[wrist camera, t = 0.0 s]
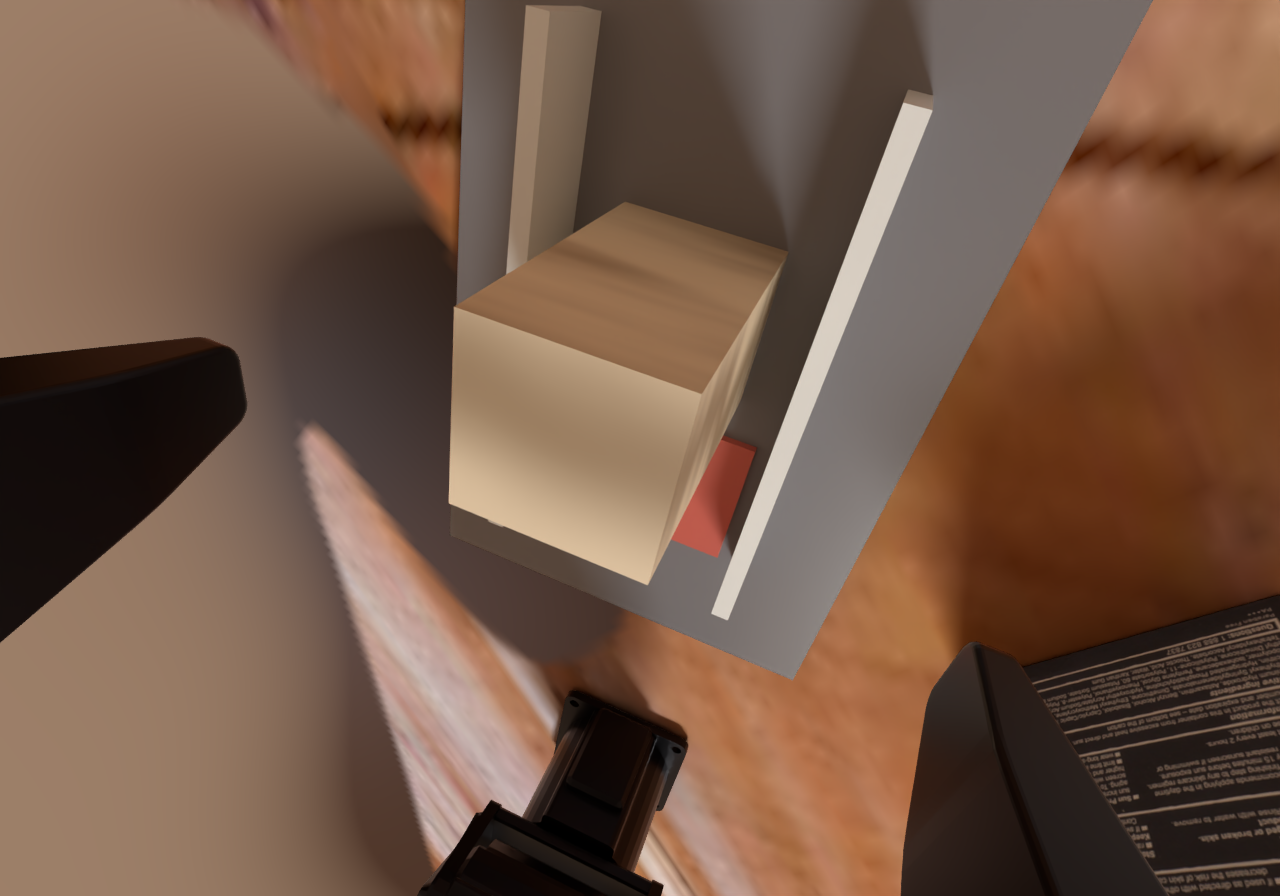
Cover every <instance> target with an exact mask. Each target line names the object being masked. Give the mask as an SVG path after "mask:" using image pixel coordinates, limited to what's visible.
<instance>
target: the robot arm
mask: <svg viewBox="0 0 1280 896" xmlns="http://www.w3.org/2000/svg"><path fill="white" fill-rule="evenodd" d="M246 410H247V398H246V393H245V387H244V382H243V376H242V371H241V365H240V360H239V357H238V355H237V354H236V352H235V351H234V350H233V349H232V348H230V347H228V346H226V345H223V344H221V343H218V342H215V341H213V340H211V339H207V338H203V337H194V338H184V339H174V340H165V341H156V342H147V343H137V344H127V345H118V346H110V347H109V346H108V347H99V348H90V349H80V350H71V351H61V352H52V353H42V354H33V355H23V356H14V357H4V358H0V642H1V641H3V640H4V639H5V638H6V637H7V636H9V635H10V634H11V633H12V632H13V631H15V630H16V629H17V628H18V627H19V626H20V625H22V624H23V623H24V622H25V621H26V620H27V619H29V618H30V617H31V616H32V615H33V614H34V613H36V612H37V611H38V610H39V609H40V608H41V607H43V606H44V605H45V604H46V603H47V602H48V601H50V600H51V599H52V598H53V597H54V596H55V595H57V594H58V593H59V592H60V591H61V590H62V589H63V588H65V587H66V586H67V585H68V584H69V583H71V582H72V581H73V580H74V579H75V578H76V577H78V576H79V575H80V574H81V573H82V572H83V571H85V570H86V569H87V568H88V567H89V566H90V565H92V564H93V563H94V562H95V561H96V560H97V559H98V558H100V557H101V556H102V555H103V554H104V553H106V552H107V551H108V550H109V549H110V548H111V547H113V546H114V545H115V544H116V543H117V542H119V541H120V540H121V539H122V538H123V537H124V536H126V535H127V534H128V533H129V532H130V531H131V530H133V529H134V528H135V527H136V526H137V525H138V524H139V523H141V522H142V521H143V520H144V519H145V518H146V517H147V516H148V515H150V514H151V513H152V512H153V511H154V510H155V509H156V508H157V507H158V506H159V505H160V504H161V503H162V502H164V501H165V499H167V497H169V496H170V495H171V494H172V493H173V492H174V490H176V488H177V487H178V486H179V485H180V484H181V483H182V482H183V481H184V480H185V479H186V478H187V477H188V476H189V475H190V474H191V473H192V472H193V471H194V470H195V469H196V468H197V467H198V466H199V465H200V464H201V463H202V462H203V460H205V459H206V458H207V457H208V455H209V454H210V453H211V452H212V451H213V450H214V449H215V448H216V447H217V446H218V445H219V444H220V443H221V442H222V441H223V440H224V439H225V438H226V437H227V436H228V435H229V434H230V433H231V432H232V431H233V430H234V429H235V428H236V427H237V426H238V424H239V423H240V422H241V421H242V419H243V418H244V416H245V413H246ZM687 750H688V743H687V742H686V741H685V740H684V739H682V738H681V737H678V736H676V735H674V734H672V733H669V732H667V731H665V730H663V729H661V728H658V727H656V726H654V725H652V724H650V723H647V722H645V721H643V720H641V719H638V718H636V717H634V716H632V715H630V714H627V713H625V712H623V711H621V710H619V709H616V708H614V707H612V706H610V705H607V704H605V703H603V702H601V701H599V700H596V699H594V698H592V697H590V696H587V695H585V694H583V693H581V692H579V691H574V690H572V691H570V692H569V694H568V696H567V697H566V699H565V704H564V709H563V713H562V718H561V723H560V728H559V733H558V737H557V742H556V747H555V752H554V756H553V758H552V760H551V762H550V764H549V766H548V768H547V770H546V772H545V773H544V775H543V777H542V779H541V781H540V783H539V785H538V787H537V789H536V791H535V793H534V795H533V797H532V799H531V801H530V803H529V805H528V807H527V809H526V810H525V812H524V814H523V816H522V817H520V816H518V815H516V814H514V813H512V812H510V811H508V810H506V809H504V808H502V807H501V806H502V805H501V804H499V803H497V802H495V801H493V800H491V801H490V802H489V804H488V805H487V807H486V808H485V809H484V811H483V812H481V813H476V814H475V816H474V817H473V819H472V821H471V823H470V824H469V826H468V828H467V830H466V831H465V833H464V835H463V836H462V838H461V840H460V841H459V843H458V844H457V846H456V847H455V849H454V850H453V851H452V852H451V854H450V855H449V856H448V857H447V858H446V859H445V861H444V862H443V863H442V864H441V865H440V866H439V868H438V869H437V870H436V871H435V872H434V874H433V875H432V876H431V877H430V878H429V880H428V881H427V882H426V883H425V884H424V885H423V887H422V888H421V890H420V891H419V893H418V895H417V896H661V894H662V890H663V886H664V885H663V884H661V883H659V882H657V881H655V880H652V881H649V880H647V879H645V878H643V877H641V876H639V875H637V874H635V873H634V871H635V868H636V865H637V862H638V860H639V857H640V854H641V851H642V848H643V845H644V843H645V840H646V837H647V834H648V831H649V828H650V825H651V823H652V820H653V817H654V814H655V811H661V810H662V809H663V808H664V805H665V803H666V800H667V798H668V796H669V793H670V791H671V789H672V786H673V784H674V781H675V779H676V777H677V774H678V772H679V770H680V767H681V765H682V762H683V760H684V758H685V755H686V753H687ZM901 896H1169V894H1168V893H1167V891H1166V890H1165V888H1164V887H1163V885H1162V883H1161V882H1160V880H1159V879H1158V877H1157V876H1156V874H1155V873H1154V871H1153V869H1152V868H1151V866H1150V865H1149V863H1148V862H1147V860H1146V859H1145V857H1144V856H1143V854H1142V852H1141V851H1140V849H1139V848H1138V846H1137V845H1136V843H1135V842H1134V840H1133V839H1132V837H1131V835H1130V834H1129V832H1128V831H1127V829H1126V828H1125V826H1124V825H1123V823H1122V822H1121V820H1120V818H1119V817H1118V815H1117V814H1116V812H1115V811H1114V809H1113V808H1112V806H1111V804H1110V803H1109V801H1108V800H1107V798H1106V797H1105V795H1104V794H1103V792H1102V791H1101V789H1100V787H1099V786H1098V784H1097V783H1096V781H1095V780H1094V778H1093V777H1092V775H1091V774H1090V772H1089V770H1088V769H1087V767H1086V766H1085V764H1084V763H1083V761H1082V760H1081V758H1080V756H1079V755H1078V753H1077V752H1076V750H1075V749H1074V747H1073V746H1072V744H1071V743H1070V741H1069V739H1068V738H1067V736H1066V735H1065V733H1064V732H1063V730H1062V729H1061V727H1060V726H1059V724H1058V722H1057V721H1056V719H1055V718H1054V716H1053V715H1052V713H1051V712H1050V710H1049V708H1048V707H1047V705H1046V704H1045V702H1044V701H1043V699H1042V698H1041V696H1040V695H1039V693H1038V691H1037V690H1036V688H1035V687H1034V685H1033V684H1032V682H1031V681H1030V679H1029V678H1028V676H1027V674H1026V673H1025V671H1024V670H1023V668H1022V667H1021V665H1020V664H1019V662H1018V661H1017V660H1016V659H1015V658H1014V657H1013V656H1011V655H1010V654H1008V653H1005V652H1003V651H1000V650H998V649H995V648H993V647H990V646H988V645H985V644H983V643H980V642H970V643H968V644H967V645H966V646H964V647H963V648H962V650H961V651H960V652H959V654H958V655H957V656H956V658H955V659H954V660H953V662H952V663H951V664H950V666H949V667H948V668H947V670H946V671H945V672H944V674H943V675H942V676H941V678H940V679H939V681H938V682H937V683H936V685H935V686H934V688H933V690H932V691H931V694H930V696H929V699H928V702H927V706H926V711H925V717H924V723H923V729H922V735H921V742H920V748H919V754H918V760H917V766H916V772H915V778H914V784H913V790H912V796H911V802H910V809H909V815H908V821H907V827H906V835H905V842H904V850H903V864H902V880H901Z"/></svg>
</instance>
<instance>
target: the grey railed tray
mask: <svg viewBox="0 0 1280 896" xmlns="http://www.w3.org/2000/svg"><path fill="white" fill-rule="evenodd" d="M1152 1H1153V0H465V34H464V68H463V102H462V136H461V169H460V203H459V237H458V271H457V305H458V304H459V303H461V302H463V301H464V300H466V299H467V298H469V297H471V296H472V295H474V294H476V293H477V292H479V291H480V290H482V289H484V288H485V287H487V286H489V285H490V284H492V283H493V282H495V281H497V280H498V279H500V278H502V277H503V276H505V275H506V274H508V273H510V272H511V271H513V270H515V269H516V268H518V267H520V266H521V265H523V264H524V263H526V262H528V261H529V260H531V259H533V258H534V257H536V256H537V255H539V254H541V253H542V252H544V251H546V250H547V249H549V248H550V247H552V246H554V245H555V244H557V243H559V242H560V241H562V240H563V239H565V238H567V237H568V236H570V235H572V234H573V233H575V232H577V231H578V230H580V229H581V228H583V227H585V226H586V225H588V224H590V223H591V222H593V221H594V220H596V219H598V218H599V217H601V216H603V215H604V214H606V213H607V212H609V211H611V210H612V209H614V208H616V207H617V206H619V205H620V204H622V203H624V202H628V203H631V204H634V205H638V206H641V207H644V208H648V209H651V210H654V211H657V212H661V213H664V214H667V215H670V216H674V217H677V218H680V219H683V220H687V221H690V222H693V223H696V224H700V225H703V226H706V227H709V228H713V229H716V230H719V231H723V232H726V233H729V234H732V235H736V236H739V237H742V238H745V239H749V240H752V241H755V242H758V243H762V244H765V245H768V246H771V247H775V248H778V249H781V250H784V251H788V252H789V253H788V256H787V259H786V262H785V265H784V268H783V271H782V274H781V278H780V281H779V284H778V287H777V290H776V293H775V296H774V299H773V302H772V305H771V308H770V312H769V315H768V318H767V321H766V324H765V327H764V330H763V333H762V336H761V339H760V342H759V345H758V349H757V352H756V355H755V358H754V361H753V364H752V367H751V370H750V373H749V376H748V379H747V382H746V386H745V389H744V392H743V395H742V398H741V401H740V403H739V405H738V407H737V409H736V411H735V413H734V415H733V417H732V419H731V421H730V423H729V425H728V427H727V429H726V431H725V433H724V435H723V437H722V439H721V441H720V443H719V445H718V447H717V449H716V451H715V453H714V454H713V456H712V458H711V460H710V462H709V464H708V466H707V468H706V470H705V472H704V474H703V476H702V478H701V480H700V482H699V484H698V486H697V488H696V490H695V492H694V494H693V496H692V498H691V500H690V502H689V504H688V506H687V508H686V510H685V512H684V514H683V516H682V518H681V520H680V522H679V524H678V526H677V528H676V530H675V532H674V534H673V536H672V538H671V540H670V542H669V544H668V546H667V548H666V550H665V552H664V554H663V556H662V558H661V560H660V562H659V564H658V566H657V568H656V570H655V572H654V574H653V576H652V578H651V580H650V582H649V584H648V585H646V584H643V583H641V582H638V581H636V580H634V579H631V578H629V577H626V576H624V575H621V574H619V573H617V572H614V571H612V570H609V569H607V568H604V567H602V566H600V565H597V564H595V563H592V562H590V561H587V560H585V559H583V558H580V557H578V556H575V555H573V554H571V553H568V552H566V551H563V550H561V549H558V548H556V547H554V546H551V545H549V544H546V543H544V542H541V541H539V540H537V539H534V538H532V537H529V536H527V535H524V534H522V533H520V532H517V531H515V530H512V529H510V528H508V527H505V526H503V525H500V524H498V523H495V522H493V521H491V520H488V519H486V518H483V517H481V516H478V515H476V514H474V513H471V512H469V511H466V510H464V509H462V508H459V507H457V506H454V505H452V504H451V508H450V536H452V537H455V538H457V539H460V540H462V541H464V542H467V543H469V544H472V545H474V546H476V547H478V548H481V549H483V550H486V551H488V552H490V553H493V554H495V555H497V556H500V557H502V558H505V559H507V560H509V561H512V562H514V563H516V564H519V565H521V566H523V567H526V568H528V569H531V570H533V571H535V572H538V573H540V574H542V575H545V576H547V577H549V578H552V579H554V580H557V581H559V582H561V583H564V584H566V585H569V586H571V587H573V588H576V589H578V590H580V591H583V592H585V593H588V594H590V595H592V596H595V597H597V598H599V599H602V600H604V601H606V602H609V603H611V604H613V605H616V606H618V607H620V608H623V609H625V610H628V611H630V612H632V613H635V614H637V615H639V616H642V617H644V618H647V619H649V620H651V621H654V622H656V623H658V624H661V625H663V626H665V627H668V628H670V629H673V630H675V631H677V632H680V633H682V634H684V635H687V636H689V637H692V638H694V639H696V640H699V641H701V642H703V643H706V644H708V645H710V646H713V647H715V648H718V649H720V650H722V651H725V652H727V653H729V654H732V655H734V656H737V657H739V658H741V659H744V660H746V661H748V662H751V663H753V664H755V665H758V666H760V667H763V668H765V669H767V670H770V671H772V672H774V673H777V674H779V675H782V676H784V677H786V678H789V679H791V680H793V679H794V677H795V675H796V673H797V671H798V669H799V667H800V665H801V664H802V662H803V660H804V658H805V656H806V654H807V652H808V650H809V648H810V647H811V645H812V643H813V641H814V639H815V637H816V635H817V633H818V631H819V630H820V628H821V626H822V624H823V622H824V620H825V618H826V616H827V614H828V613H829V611H830V609H831V607H832V605H833V603H834V601H835V599H836V597H837V596H838V594H839V592H840V590H841V588H842V586H843V584H844V582H845V580H846V579H847V577H848V575H849V573H850V571H851V569H852V567H853V565H854V564H855V562H856V560H857V558H858V556H859V554H860V552H861V550H862V548H863V547H864V545H865V543H866V541H867V539H868V537H869V535H870V533H871V531H872V530H873V528H874V526H875V524H876V522H877V520H878V518H879V516H880V514H881V513H882V511H883V509H884V507H885V505H886V503H887V501H888V499H889V497H890V496H891V494H892V492H893V490H894V488H895V486H896V484H897V482H898V480H899V479H900V477H901V475H902V473H903V471H904V469H905V467H906V465H907V464H908V462H909V460H910V458H911V456H912V454H913V452H914V450H915V448H916V447H917V445H918V443H919V441H920V439H921V437H922V435H923V433H924V431H925V430H926V428H927V426H928V424H929V422H930V420H931V418H932V416H933V414H934V413H935V411H936V409H937V407H938V405H939V403H940V401H941V399H942V397H943V396H944V394H945V392H946V390H947V388H948V386H949V384H950V382H951V380H952V379H953V377H954V375H955V373H956V371H957V369H958V367H959V365H960V363H961V362H962V360H963V358H964V356H965V354H966V352H967V350H968V348H969V347H970V345H971V343H972V341H973V339H974V337H975V335H976V333H977V331H978V330H979V328H980V326H981V324H982V322H983V320H984V318H985V316H986V314H987V313H988V311H989V309H990V307H991V305H992V303H993V301H994V299H995V297H996V296H997V294H998V292H999V290H1000V288H1001V286H1002V284H1003V282H1004V280H1005V279H1006V277H1007V275H1008V273H1009V271H1010V269H1011V267H1012V265H1013V263H1014V262H1015V260H1016V258H1017V256H1018V254H1019V252H1020V250H1021V248H1022V246H1023V245H1024V243H1025V241H1026V239H1027V237H1028V235H1029V233H1030V231H1031V230H1032V228H1033V226H1034V224H1035V222H1036V220H1037V218H1038V216H1039V214H1040V213H1041V211H1042V209H1043V207H1044V205H1045V203H1046V201H1047V199H1048V197H1049V196H1050V194H1051V192H1052V190H1053V188H1054V186H1055V184H1056V182H1057V180H1058V179H1059V177H1060V175H1061V173H1062V171H1063V169H1064V167H1065V165H1066V163H1067V162H1068V160H1069V158H1070V156H1071V154H1072V152H1073V150H1074V148H1075V146H1076V145H1077V143H1078V141H1079V139H1080V137H1081V135H1082V133H1083V131H1084V129H1085V128H1086V126H1087V124H1088V122H1089V120H1090V118H1091V116H1092V114H1093V113H1094V111H1095V109H1096V107H1097V105H1098V103H1099V101H1100V99H1101V97H1102V96H1103V94H1104V92H1105V90H1106V88H1107V86H1108V84H1109V82H1110V80H1111V79H1112V77H1113V75H1114V73H1115V71H1116V69H1117V67H1118V65H1119V63H1120V62H1121V60H1122V58H1123V56H1124V54H1125V52H1126V50H1127V48H1128V46H1129V45H1130V43H1131V41H1132V39H1133V37H1134V35H1135V33H1136V31H1137V29H1138V28H1139V26H1140V24H1141V22H1142V20H1143V18H1144V16H1145V14H1146V12H1147V11H1148V9H1149V7H1150V5H1151V3H1152Z"/></svg>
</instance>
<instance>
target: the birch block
mask: <svg viewBox="0 0 1280 896" xmlns="http://www.w3.org/2000/svg"><path fill="white" fill-rule="evenodd" d="M788 253H789V252H788V251H784V250H781V249H778V248H775V247H771V246H768V245H765V244H762V243H758V242H755V241H752V240H749V239H745V238H742V237H739V236H736V235H732V234H729V233H726V232H723V231H719V230H716V229H713V228H709V227H706V226H703V225H700V224H696V223H693V222H690V221H687V220H683V219H680V218H677V217H674V216H670V215H667V214H664V213H661V212H657V211H654V210H651V209H648V208H644V207H641V206H638V205H634V204H631V203H628V202H624V203H622V204H620V205H619V206H617V207H616V208H614V209H612V210H611V211H609V212H607V213H606V214H604V215H603V216H601V217H599V218H598V219H596V220H594V221H593V222H591V223H590V224H588V225H586V226H585V227H583V228H581V229H580V230H578V231H577V232H575V233H573V234H572V235H570V236H568V237H567V238H565V239H563V240H562V241H560V242H559V243H557V244H555V245H554V246H552V247H550V248H549V249H547V250H546V251H544V252H542V253H541V254H539V255H537V256H536V257H534V258H533V259H531V260H529V261H528V262H526V263H524V264H523V265H521V266H520V267H518V268H516V269H515V270H513V271H511V272H510V273H508V274H506V275H505V276H503V277H502V278H500V279H498V280H497V281H495V282H493V283H492V284H490V285H489V286H487V287H485V288H484V289H482V290H480V291H479V292H477V293H476V294H474V295H472V296H471V297H469V298H467V299H466V300H464V301H463V302H461V303H459V304H458V305H456V306H454V326H453V363H452V367H453V368H452V401H451V438H450V474H449V476H450V477H449V504H452V505H454V506H457V507H459V508H462V509H464V510H466V511H469V512H471V513H474V514H476V515H478V516H481V517H483V518H486V519H488V520H491V521H493V522H495V523H498V524H500V525H503V526H505V527H508V528H510V529H512V530H515V531H517V532H520V533H522V534H524V535H527V536H529V537H532V538H534V539H537V540H539V541H541V542H544V543H546V544H549V545H551V546H554V547H556V548H558V549H561V550H563V551H566V552H568V553H571V554H573V555H575V556H578V557H580V558H583V559H585V560H587V561H590V562H592V563H595V564H597V565H600V566H602V567H604V568H607V569H609V570H612V571H614V572H617V573H619V574H621V575H624V576H626V577H629V578H631V579H634V580H636V581H638V582H641V583H643V584H646V585H648V584H649V582H650V580H651V578H652V576H653V574H654V572H655V570H656V568H657V566H658V564H659V562H660V560H661V558H662V556H663V554H664V552H665V550H666V548H667V546H668V544H669V542H670V540H671V538H672V536H673V534H674V532H675V530H676V528H677V526H678V524H679V522H680V520H681V518H682V516H683V514H684V512H685V510H686V508H687V506H688V504H689V502H690V500H691V498H692V496H693V494H694V492H695V490H696V488H697V486H698V484H699V482H700V480H701V478H702V476H703V474H704V472H705V470H706V468H707V466H708V464H709V462H710V460H711V458H712V456H713V454H714V453H715V451H716V449H717V447H718V445H719V443H720V441H721V439H722V437H723V435H724V433H725V431H726V429H727V427H728V425H729V423H730V421H731V419H732V417H733V415H734V413H735V411H736V409H737V407H738V405H739V403H740V401H741V398H742V395H743V392H744V389H745V386H746V382H747V379H748V376H749V373H750V370H751V367H752V364H753V361H754V358H755V355H756V352H757V349H758V345H759V342H760V339H761V336H762V333H763V330H764V327H765V324H766V321H767V318H768V315H769V312H770V308H771V305H772V302H773V299H774V296H775V293H776V290H777V287H778V284H779V281H780V278H781V274H782V271H783V268H784V265H785V262H786V259H787V256H788Z"/></svg>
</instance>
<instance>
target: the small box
mask: <svg viewBox="0 0 1280 896" xmlns="http://www.w3.org/2000/svg"><path fill="white" fill-rule="evenodd" d="M1023 670H1024V671H1025V673H1026V674H1027V676H1028V678H1029V679H1030V681H1031V682H1032V684H1033V685H1034V687H1035V688H1036V690H1037V691H1038V693H1039V695H1040V696H1041V698H1042V699H1043V701H1044V702H1045V704H1046V705H1047V707H1048V708H1049V710H1050V712H1051V713H1052V715H1053V716H1054V718H1055V719H1056V721H1057V722H1058V724H1059V726H1060V727H1061V729H1062V730H1063V732H1064V733H1065V735H1066V736H1067V738H1068V739H1069V741H1070V743H1071V744H1072V746H1073V747H1074V749H1075V750H1076V752H1077V753H1078V755H1079V756H1080V758H1081V760H1082V761H1083V763H1084V764H1085V766H1086V767H1087V769H1088V770H1089V772H1090V774H1091V775H1092V777H1093V778H1094V780H1095V781H1096V783H1097V784H1098V786H1099V787H1100V789H1101V791H1102V792H1103V794H1104V795H1105V797H1106V798H1107V800H1108V801H1109V803H1110V804H1111V806H1112V808H1113V809H1114V811H1115V812H1116V814H1117V815H1118V817H1119V818H1120V820H1121V822H1122V823H1123V825H1124V826H1125V828H1126V829H1127V831H1128V832H1129V834H1130V835H1131V837H1132V839H1133V840H1134V842H1135V843H1136V845H1137V846H1138V848H1139V849H1140V851H1141V852H1142V854H1143V856H1144V857H1145V859H1146V860H1147V862H1148V863H1149V865H1150V866H1151V868H1152V869H1153V871H1154V873H1155V874H1156V876H1157V877H1158V879H1159V880H1160V882H1161V883H1162V885H1163V887H1164V888H1165V890H1166V891H1167V893H1168V894H1169V896H1280V595H1279V596H1274V597H1271V598H1267V599H1263V600H1259V601H1256V602H1252V603H1249V604H1246V605H1242V606H1238V607H1234V608H1230V609H1227V610H1224V611H1220V612H1217V613H1213V614H1210V615H1206V616H1202V617H1199V618H1196V619H1193V620H1189V621H1185V622H1182V623H1179V624H1175V625H1171V626H1168V627H1164V628H1160V629H1157V630H1154V631H1150V632H1146V633H1142V634H1139V635H1136V636H1133V637H1129V638H1126V639H1122V640H1118V641H1115V642H1111V643H1107V644H1104V645H1101V646H1097V647H1093V648H1090V649H1086V650H1083V651H1079V652H1075V653H1072V654H1069V655H1066V656H1062V657H1058V658H1054V659H1052V660H1048V661H1044V662H1041V663H1037V664H1033V665H1030V666H1026V667H1023Z"/></svg>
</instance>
